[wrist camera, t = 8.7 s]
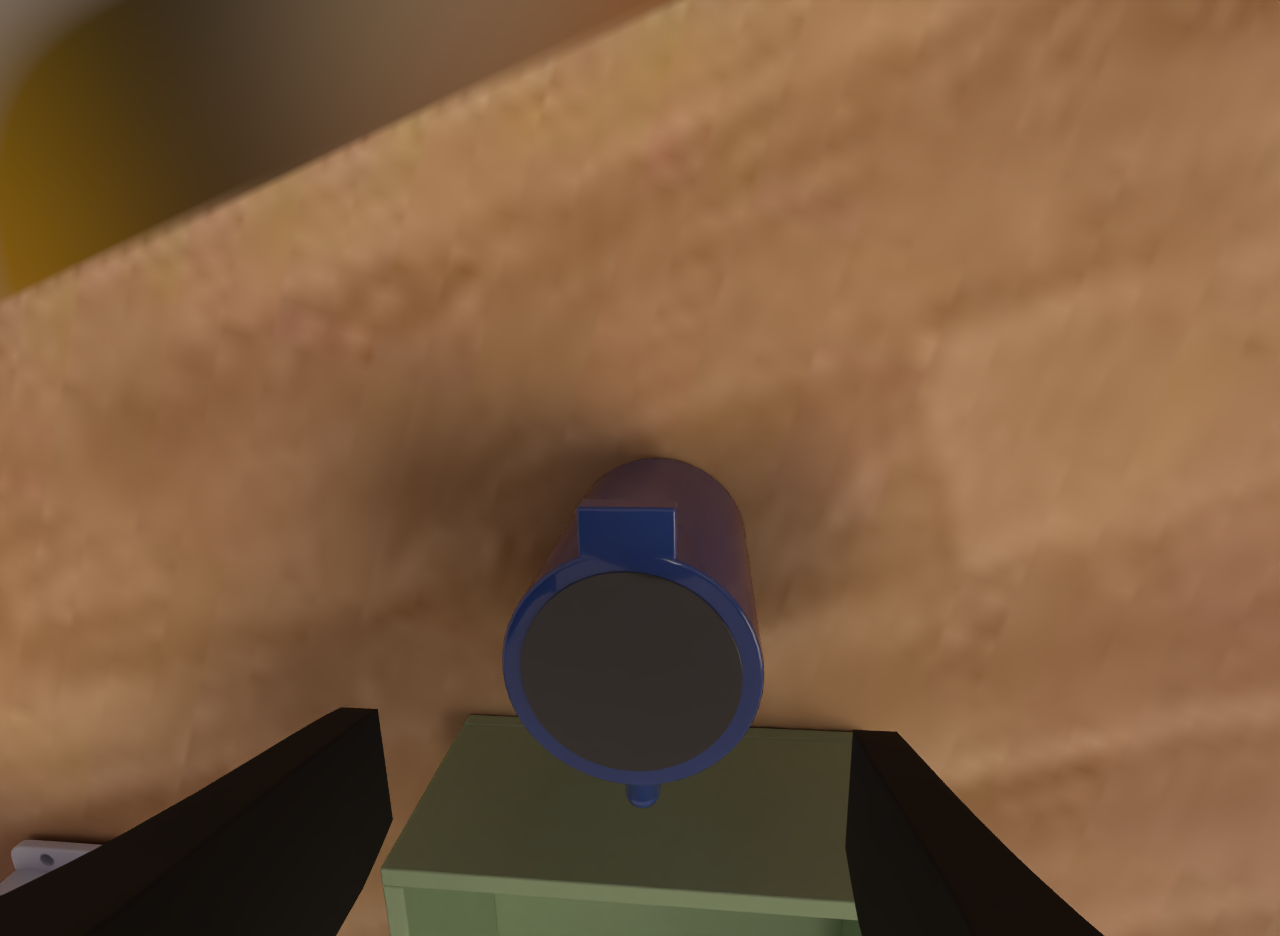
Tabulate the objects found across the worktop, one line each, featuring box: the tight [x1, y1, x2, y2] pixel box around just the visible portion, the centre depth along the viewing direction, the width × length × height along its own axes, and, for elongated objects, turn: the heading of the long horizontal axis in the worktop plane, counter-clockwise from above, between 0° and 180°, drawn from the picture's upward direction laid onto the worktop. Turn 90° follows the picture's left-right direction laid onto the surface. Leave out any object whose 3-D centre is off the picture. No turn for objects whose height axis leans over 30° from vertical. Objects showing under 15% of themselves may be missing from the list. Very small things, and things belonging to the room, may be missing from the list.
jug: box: [502, 458, 764, 809], centre depth 16 cm, size 8×5×7 cm, turn 1°
